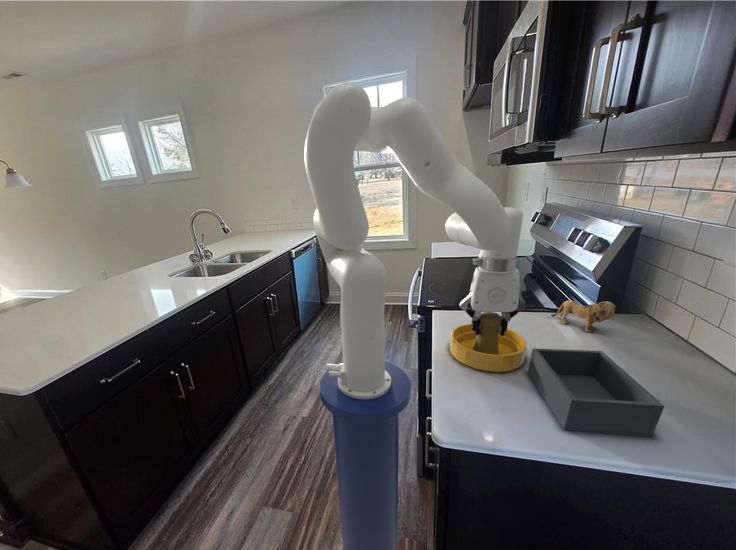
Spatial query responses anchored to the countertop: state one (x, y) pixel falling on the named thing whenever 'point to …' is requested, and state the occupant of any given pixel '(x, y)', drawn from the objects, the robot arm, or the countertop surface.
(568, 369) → the bin
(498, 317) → the cork
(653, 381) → the countertop surface
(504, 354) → the bowl
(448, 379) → the countertop surface
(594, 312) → the lion figurine
